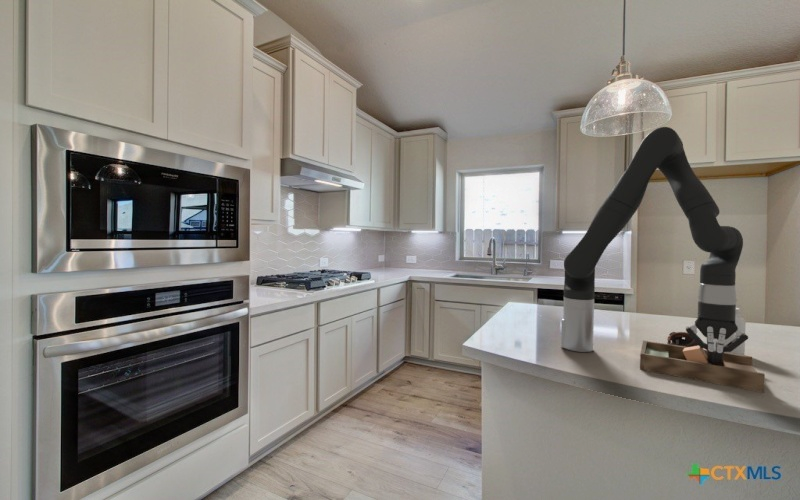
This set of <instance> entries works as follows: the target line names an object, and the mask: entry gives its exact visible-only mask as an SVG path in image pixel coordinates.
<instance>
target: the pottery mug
mask: <svg viewBox="0 0 800 500" xmlns="http://www.w3.org/2000/svg"><path fill="white" fill-rule="evenodd" d="M668 335H669V336H668V337H667V342H666V344H670V345H677V346H684V347H693V346H699V345H698V344H697V343H696V342H695V341H694V339H693V338H692V337H691V336H690V335H689V334H688V333H687V331H679V332H678V331H677V332H675V331H671V332H669V334H668ZM683 338H684V339H683Z"/></svg>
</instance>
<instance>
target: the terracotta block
mask: <svg viewBox="0 0 800 500" xmlns="http://www.w3.org/2000/svg"><path fill="white" fill-rule="evenodd" d="M704 350H705V349H704V348H701V347H700V346H693V347H687V348H684V350H683V353H684V355H685V357H686V359H687V361H693V362H699V363H708V360H707V358H708V357H707V355H706V353H705V351H704Z"/></svg>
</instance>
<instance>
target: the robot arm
mask: <svg viewBox="0 0 800 500" xmlns="http://www.w3.org/2000/svg"><path fill="white" fill-rule="evenodd" d="M657 169H658V170H659V171H660V172H661V173H662V175H663V176H664V177H665V178H666V180H667V182H668V183H669V185H670V187H671V190H672V192H673V194H674V195H673V196H675V197H674V198H675V199H676V201H677V203H678V205H679V207H680V208H681V210H682V212H683V213H684V216H685V217H686V219H687V221H688V225H689V229H690V233H691V237H692V240H693V242H694V243H695V245H696V246H697V248H699V250H701V251H703V252H706V253H709V257H708V260H707V261H705V262H703V263H702V264H701V265H700V269H699V270H700V271H699V274H700V275H699V288H698V292H697V317H696V320H695V321H694V324H692V325H690V326H685V332H687V333H688V334H689V335H690V336H691V337H692V338H693V339H694V341H695V342H696V343H697V344H698V345H699V346H700V347H701V348H703V349H704V350H707V351H708V358H707V360H708V362H709V363H711V365H717V366H719V365H721V364H722V354H723V353H724V352H731V351H733V350H734V349H735V348H737V347H738V346H739V345H741V344H742V343H743V342H745V343H746V341H747V340H748V339H749V335H747V334H746V332H745V333H742V332H741V331H739V330H738V327H737V325H736V323H735V315H736V308H737V301H738V299H737V290H736V275H737V273H736V269H737V266H738V263H739V261H740V257H741V255H742V251H743V246H744V238H743V235H742V232H741V231H739V230H738V229H737V228H735V227H734V226H729V225H720V224H719V222H718V218H717V217H718V216H719V214H720V208H719V206H718V205H717V202H716V201H715V200H714V198H713V196H712V195H711V193H710V192H709V190H708V188H706V186H705V185H704V184H703V182H702V181H701V180H700V178H699V177H698V176H697V175H696V174H695V172H694V170H693V168H692V166H691V164H690V163H689V161H688V157H687V155H686V152H685V148H684V143H683V141H682V139H681V137H680V135H679V134H678V132H677V131H676V130H674V129H673V128H671V127H669V126H659V127H658V128H655V129H653V130H652V131H650V132H648V134H646V136H645V137H644V138H643V139H642V141H641V143H640V144H639V146H638V148H637V150H636V152H635V153H634V156H633V158H632V160H631V161H630V163H629V165H628V166H627V168H626V169H625V170H624V172H623V174H622V175H621V176H620V178H619V179H618V181H617V182H616V183H615V185H614V187H613V188H612V190H611V191H610V192H609V194H608V195H607V196H606V198H605V199H604V201H603V202H602V204H601V205H600V207H599V208H598V210H597V211H596V213H595V214H594V217H593V218H592V221H591V222H590V224H589V227H588V228H587V230H586V232H585V234H584V235H583V237H582V238H581V240H580V241H579V242H578V243H577V245H576V246H574V248H573V249H572V250H571V251H570V252H569V253H568V254H567V255H566V256H565V258H564V261H563V268H564V284H563V310H562V311H563V315H562V319H561V326H560V327H561V328H560V329H561V333H560V335H561V336H560V348H563V349H566V350H568V351H573V352H576V353H577V352H579V353H589V352H592V351H594V328H595V327H594V326H595V325H594V324H595V323H594V321H595V320H594V319H595V290H596V289H595V284H596V283H595V281H596V280H595V278H596V275H595V274H596V266H597V264H598V262H599V260H600V259H601V257H602V255H603V253H604V252H605V250H606V249H607V247H608V246H609V245H610V244H611V243H612V242H613V240H615V238H616V237H617V236H618V235H619V233H621V232H622V230H623V229H624V228H625V227H626V226H627V224H628V223H629V221H630V220H631V219H632V217H633V216H634V215H635V213H636V212H637V211H638V209H639V208H640V205H641V204H642V201H643V199H644V196H645V193H646V190H647V187H648V186H649V183H650V180H651V178H652V177H653V175H654V173H655V172H656V170H657ZM698 331H699V332H700V333H701V335H702V336H703V337H705V338H706V342H704V341H703V340H702V339H701V338H700V336H698ZM734 333H735V335H734V337H735V339H733V340H732V341H731V342H729V343H728V344H727V345H726V346H724V341H725V340H726V339H728V338H729V337H730V336H731V335H733V334H734ZM714 339H716V351H714Z"/></svg>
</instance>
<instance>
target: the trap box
mask: <svg viewBox="0 0 800 500" xmlns="http://www.w3.org/2000/svg"><path fill="white" fill-rule="evenodd" d="M684 348H687V347H684V346H677V345H670V344H667V343H663V342H658V341H657V342H656V341H648V340H643V339H642V344H641V349H640V354H639V357H640V359H639V370H642V371H648V372H652V373H658V374H663V375H669V376H674V377H680V378H685V379H690V380H695V381H699V382H700V381H701V382H706V383H711V384H715V385H722V386H726V387H732V388H738V389H742V390H746V391H747V390H748V391H753V392H758V393H765V375H766V374H765V373H764V372H758V371H757V370H756V368H755V366H753V356H749V355H745V354H744V355H738V354H731V353H723V354H722V364H721V365H719V366H717V365H711V363H709V362H708V363H699V362H693V361H687V359H686V357H685V355H684V353H683V350H684ZM704 351H705V353H706V355H707V357H708V351H707V350H706V349H704Z"/></svg>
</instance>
